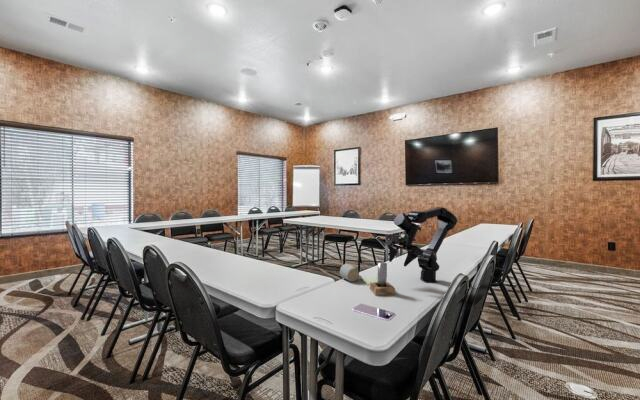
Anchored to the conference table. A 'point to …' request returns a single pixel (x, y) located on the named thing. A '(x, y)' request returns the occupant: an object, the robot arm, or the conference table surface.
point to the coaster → (369, 280)
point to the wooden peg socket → (382, 289)
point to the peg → (382, 274)
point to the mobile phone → (374, 312)
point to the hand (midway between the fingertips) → (397, 263)
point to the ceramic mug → (349, 272)
